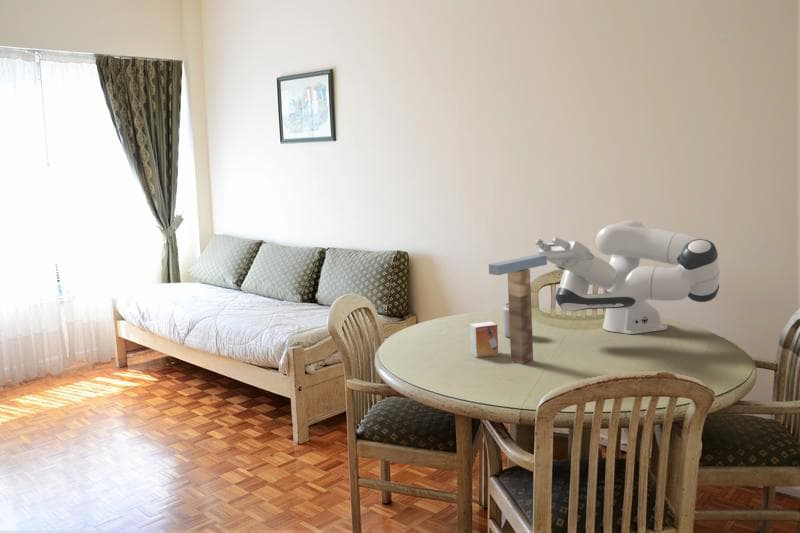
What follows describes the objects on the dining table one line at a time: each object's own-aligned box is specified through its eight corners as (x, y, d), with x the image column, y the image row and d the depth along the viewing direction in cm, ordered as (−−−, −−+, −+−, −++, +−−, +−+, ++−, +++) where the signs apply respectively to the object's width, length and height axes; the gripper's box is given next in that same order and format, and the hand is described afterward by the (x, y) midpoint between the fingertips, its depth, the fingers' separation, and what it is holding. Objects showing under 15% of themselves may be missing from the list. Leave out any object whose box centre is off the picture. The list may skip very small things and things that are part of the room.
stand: (521, 357, 238) (518, 267, 233) (533, 360, 234) (530, 269, 229) (511, 361, 235) (507, 270, 230) (522, 364, 231) (518, 271, 226)
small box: (476, 358, 241) (475, 327, 239) (470, 353, 246) (468, 323, 244) (498, 354, 243) (497, 324, 241) (492, 350, 248) (491, 320, 246)
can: (524, 332, 268) (522, 301, 266) (525, 338, 260) (524, 305, 258) (503, 333, 268) (502, 302, 266) (504, 339, 261) (503, 306, 259)
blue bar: (537, 263, 237) (537, 254, 237) (546, 264, 234) (546, 255, 234) (489, 273, 224) (488, 264, 224) (498, 275, 221) (497, 265, 221)
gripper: (593, 267, 230) (560, 247, 225) (555, 268, 248) (524, 250, 244) (600, 249, 231) (568, 229, 226) (562, 252, 250) (531, 233, 245)
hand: (545, 240), depth 235 cm, fingers open, 8 cm apart
